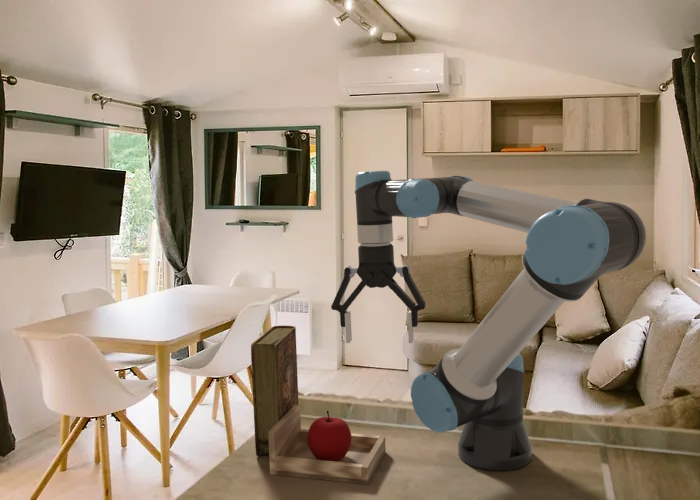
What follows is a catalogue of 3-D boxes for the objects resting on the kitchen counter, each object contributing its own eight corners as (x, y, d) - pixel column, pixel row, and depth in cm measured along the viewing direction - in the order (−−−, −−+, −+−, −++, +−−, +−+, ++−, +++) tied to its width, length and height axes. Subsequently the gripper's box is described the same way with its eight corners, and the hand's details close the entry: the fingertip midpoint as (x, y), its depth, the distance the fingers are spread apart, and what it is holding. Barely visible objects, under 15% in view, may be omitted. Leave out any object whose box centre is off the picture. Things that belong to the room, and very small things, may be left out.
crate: (385, 451, 150) (384, 411, 149) (367, 484, 136) (366, 440, 134) (296, 443, 156) (295, 404, 155) (270, 474, 141) (268, 431, 140)
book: (278, 428, 165) (274, 325, 161) (301, 429, 164) (297, 325, 160) (255, 458, 149) (250, 344, 145) (280, 459, 148) (275, 345, 144)
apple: (300, 464, 143) (298, 417, 142) (317, 446, 151) (316, 402, 150) (342, 470, 140) (341, 422, 138) (357, 451, 148) (356, 406, 147)
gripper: (435, 240, 149) (439, 337, 152) (322, 243, 154) (327, 337, 157) (433, 244, 142) (436, 346, 145) (314, 247, 147) (319, 345, 149)
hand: (379, 341), depth 151 cm, fingers open, 13 cm apart
